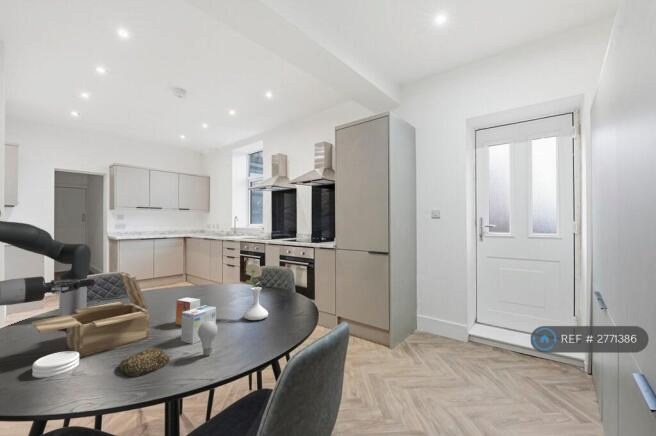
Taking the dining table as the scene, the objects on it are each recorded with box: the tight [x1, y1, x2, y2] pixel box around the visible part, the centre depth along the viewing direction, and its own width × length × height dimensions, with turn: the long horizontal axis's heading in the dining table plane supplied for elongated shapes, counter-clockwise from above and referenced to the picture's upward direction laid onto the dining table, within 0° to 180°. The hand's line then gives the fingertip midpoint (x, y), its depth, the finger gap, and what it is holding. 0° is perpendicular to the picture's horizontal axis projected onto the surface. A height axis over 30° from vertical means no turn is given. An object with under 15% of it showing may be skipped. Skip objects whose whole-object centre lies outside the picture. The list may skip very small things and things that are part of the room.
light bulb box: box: [180, 304, 217, 345], centre depth 108 cm, size 11×7×11 cm, turn 154°
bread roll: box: [118, 348, 171, 378], centre depth 87 cm, size 13×12×5 cm
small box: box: [175, 296, 201, 326], centre depth 123 cm, size 8×6×10 cm
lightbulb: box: [198, 321, 219, 356], centre depth 94 cm, size 6×6×11 cm
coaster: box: [31, 350, 80, 379], centre depth 84 cm, size 10×10×4 cm
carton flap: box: [118, 272, 149, 310], centre depth 110 cm, size 14×1×13 cm, turn 54°
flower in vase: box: [242, 263, 269, 321], centre depth 132 cm, size 13×11×25 cm
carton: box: [31, 301, 150, 359], centre depth 100 cm, size 26×29×11 cm
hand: (93, 282), depth 100 cm, fingers closed
